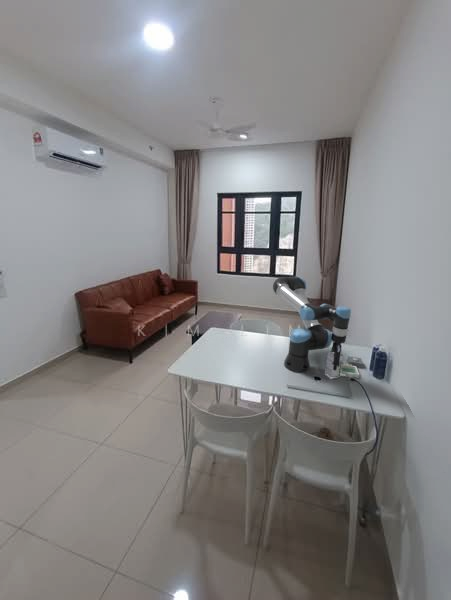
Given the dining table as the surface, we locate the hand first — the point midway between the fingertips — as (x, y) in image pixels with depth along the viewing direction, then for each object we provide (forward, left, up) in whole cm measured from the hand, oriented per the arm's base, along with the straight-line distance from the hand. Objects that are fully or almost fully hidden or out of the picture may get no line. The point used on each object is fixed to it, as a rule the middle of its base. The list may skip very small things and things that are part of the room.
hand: (332, 370), depth 156 cm
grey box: (+16, +18, -4) cm, 25 cm away
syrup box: (0, 0, -4) cm, 4 cm away
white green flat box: (+10, +8, -4) cm, 13 cm away
